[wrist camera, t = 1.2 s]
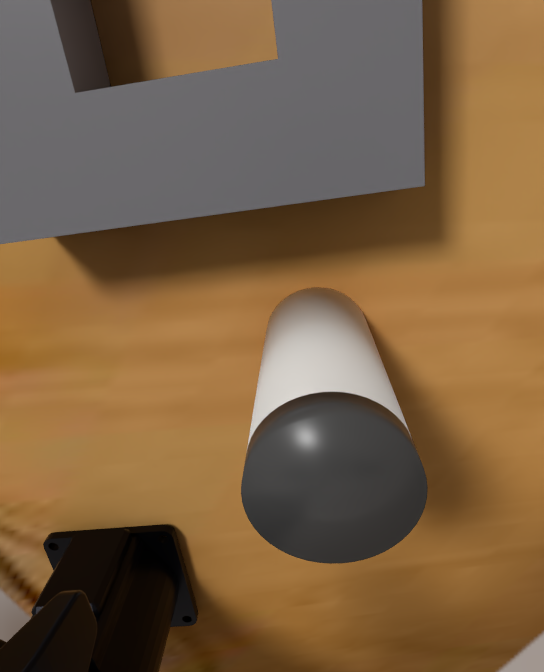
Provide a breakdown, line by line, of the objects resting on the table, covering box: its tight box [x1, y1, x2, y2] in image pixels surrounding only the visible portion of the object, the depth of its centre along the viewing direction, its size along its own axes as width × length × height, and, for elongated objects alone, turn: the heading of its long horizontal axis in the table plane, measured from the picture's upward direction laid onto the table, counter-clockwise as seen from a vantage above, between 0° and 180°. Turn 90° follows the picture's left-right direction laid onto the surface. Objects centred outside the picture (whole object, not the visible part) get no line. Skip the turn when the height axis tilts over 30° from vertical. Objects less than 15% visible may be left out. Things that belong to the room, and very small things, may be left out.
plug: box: [241, 287, 427, 563], centre depth 14 cm, size 4×4×9 cm
